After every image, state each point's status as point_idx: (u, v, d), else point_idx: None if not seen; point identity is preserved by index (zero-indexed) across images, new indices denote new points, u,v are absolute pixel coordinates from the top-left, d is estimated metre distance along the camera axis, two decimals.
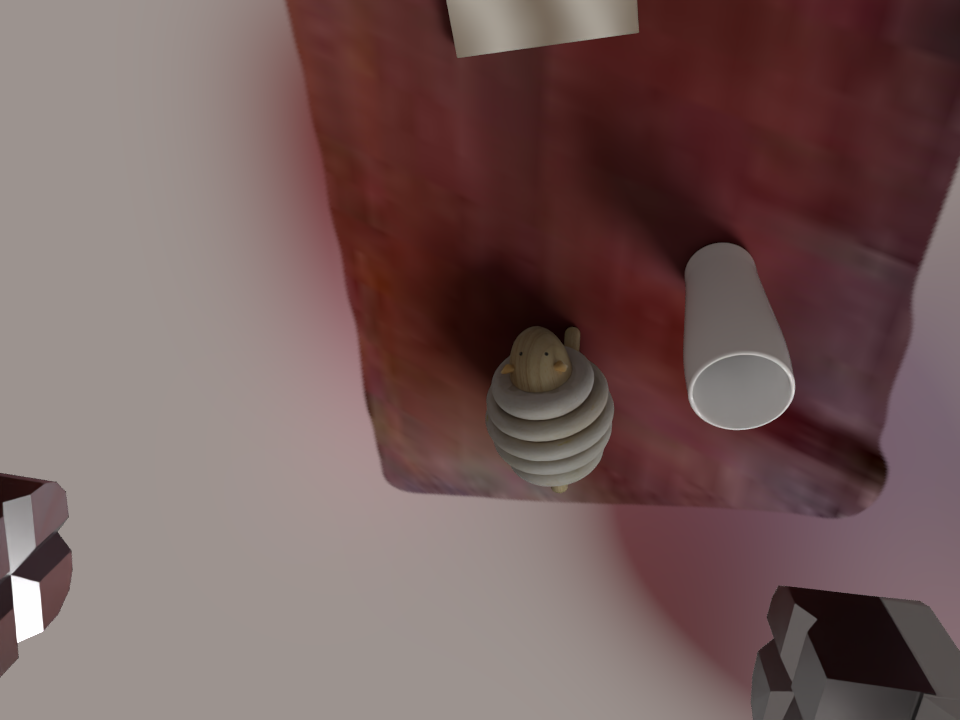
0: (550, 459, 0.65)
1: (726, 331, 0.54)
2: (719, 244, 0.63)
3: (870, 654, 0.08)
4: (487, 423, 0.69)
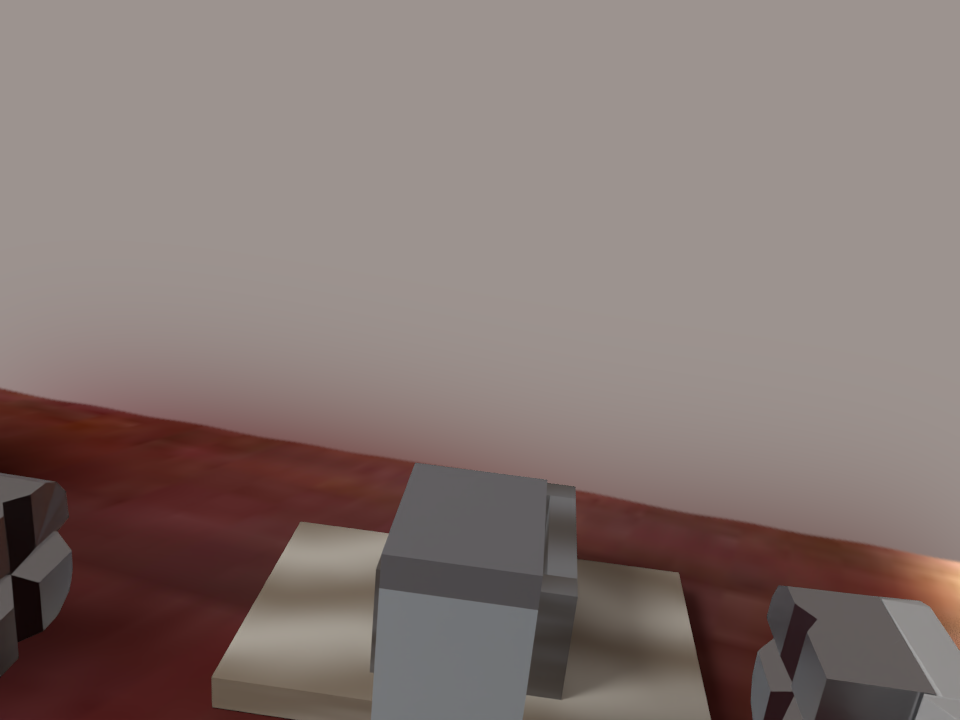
0: None
1: None
2: None
3: (871, 653, 0.08)
4: None
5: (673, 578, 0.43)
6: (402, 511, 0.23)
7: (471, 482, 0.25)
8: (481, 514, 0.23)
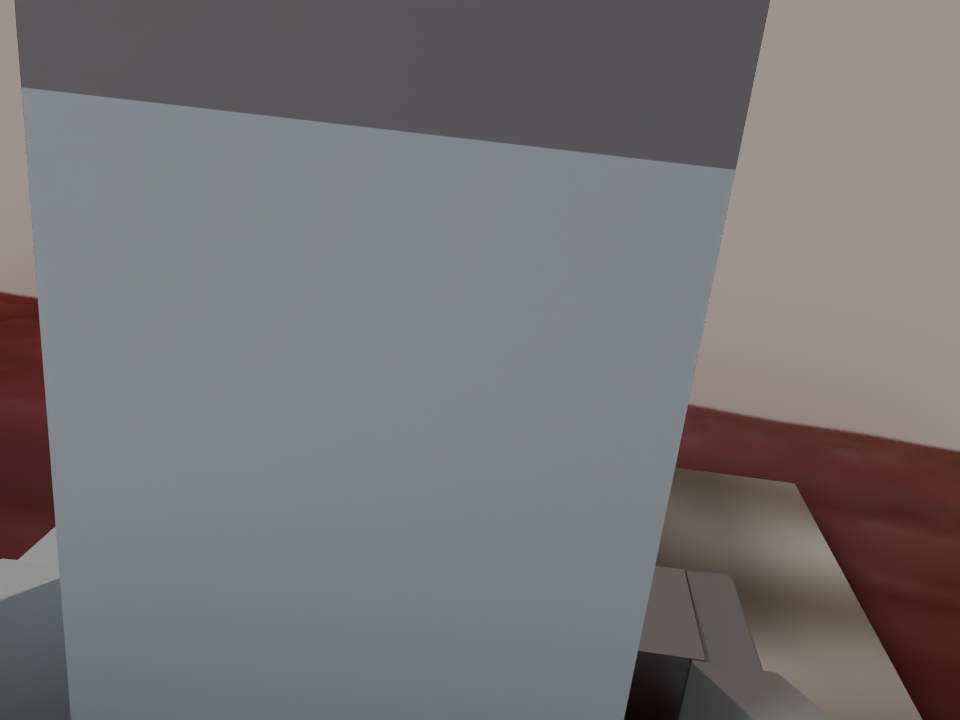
0: None
1: None
2: None
3: (654, 622, 0.08)
4: None
5: (788, 490, 0.27)
6: None
7: None
8: None
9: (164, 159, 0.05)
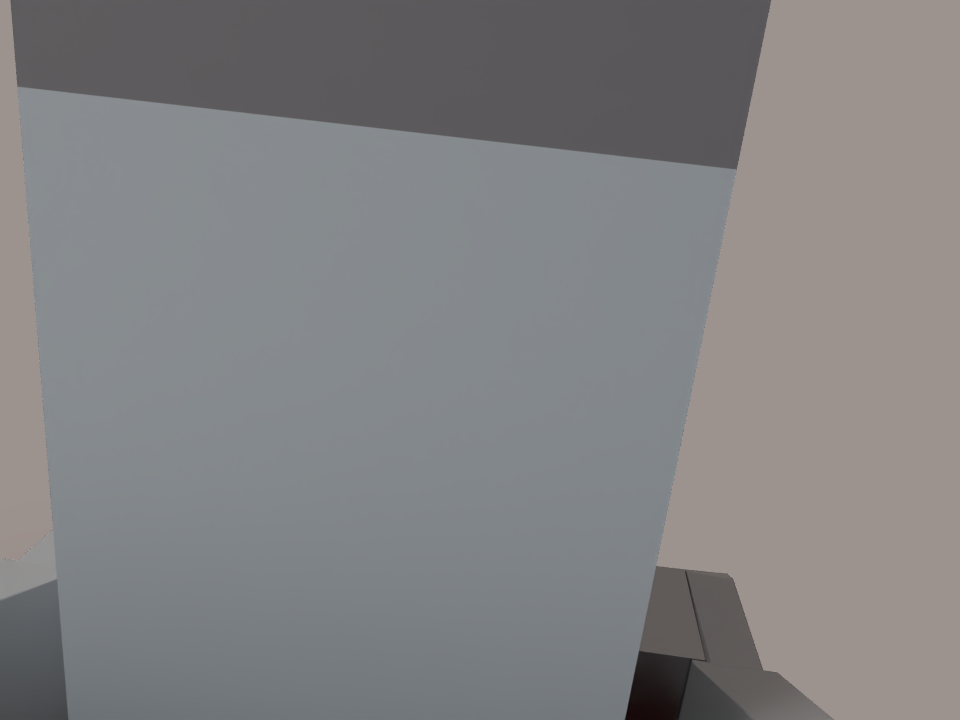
0: None
1: None
2: None
3: (653, 622, 0.08)
4: None
5: None
6: None
7: None
8: None
9: (161, 159, 0.05)
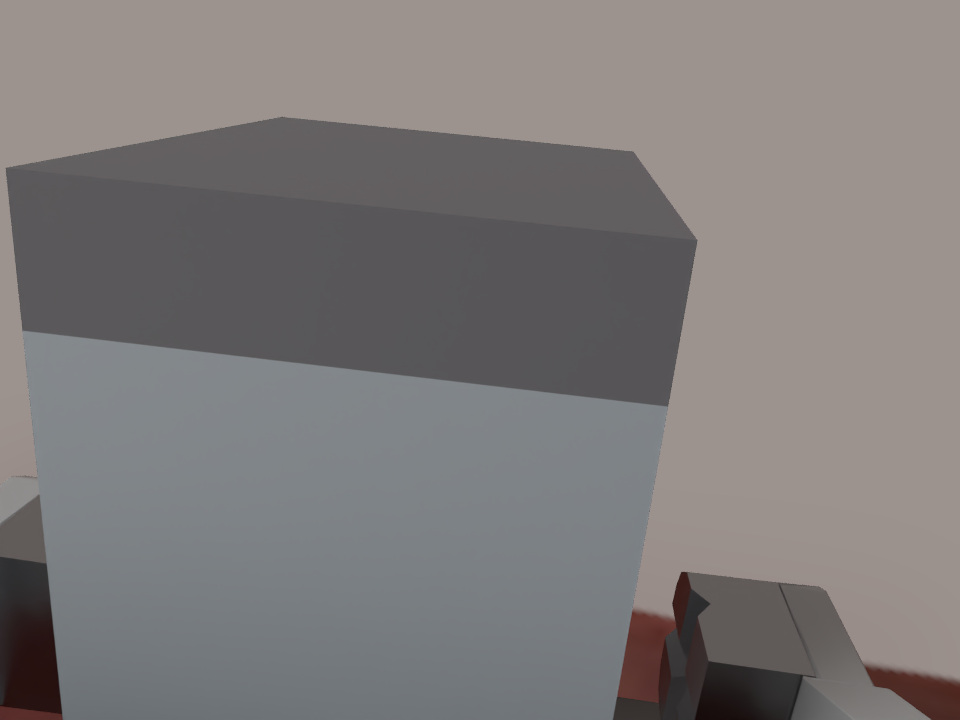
0: None
1: None
2: None
3: (758, 638, 0.08)
4: None
5: None
6: (183, 138, 0.07)
7: (424, 138, 0.09)
8: (446, 160, 0.07)
9: (152, 391, 0.05)
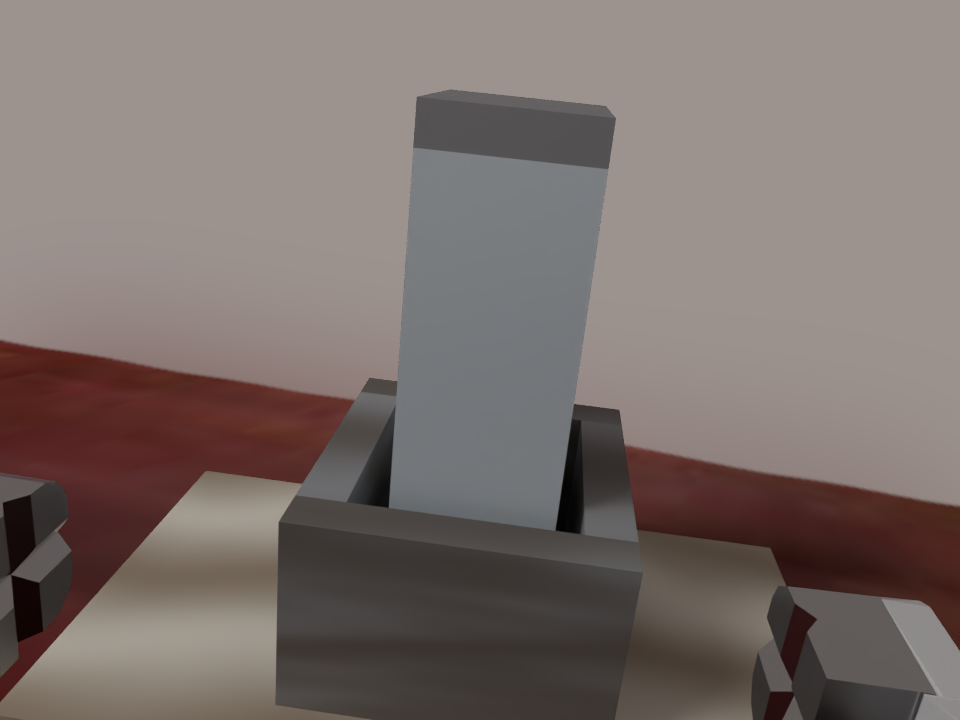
0: None
1: None
2: None
3: (871, 653, 0.08)
4: None
5: (764, 556, 0.28)
6: (439, 93, 0.19)
7: (516, 98, 0.21)
8: (533, 103, 0.19)
9: (451, 167, 0.17)
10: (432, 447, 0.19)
